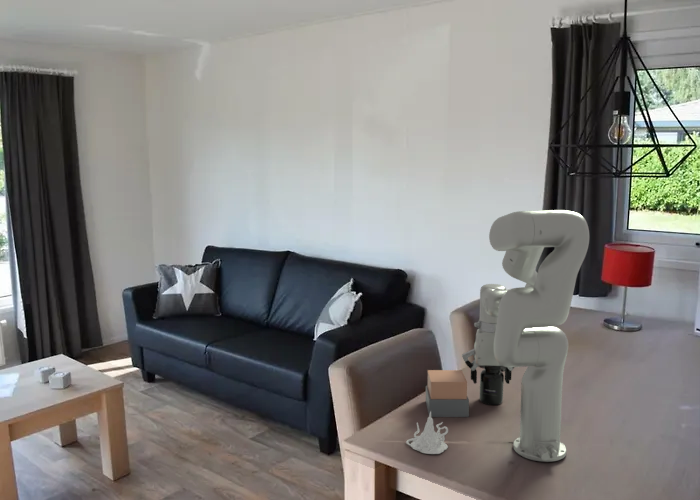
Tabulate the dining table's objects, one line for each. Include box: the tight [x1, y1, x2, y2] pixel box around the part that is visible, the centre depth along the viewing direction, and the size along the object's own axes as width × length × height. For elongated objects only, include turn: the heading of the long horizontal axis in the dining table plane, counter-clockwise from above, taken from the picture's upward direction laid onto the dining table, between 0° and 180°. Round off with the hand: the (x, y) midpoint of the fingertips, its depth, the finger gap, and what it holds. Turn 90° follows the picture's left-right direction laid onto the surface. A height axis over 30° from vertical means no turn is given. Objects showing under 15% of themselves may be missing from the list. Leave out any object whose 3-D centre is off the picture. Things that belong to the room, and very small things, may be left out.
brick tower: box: [425, 369, 470, 418], centre depth 172 cm, size 11×11×10 cm
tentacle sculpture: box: [405, 411, 449, 455], centre depth 149 cm, size 9×12×9 cm
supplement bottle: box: [479, 366, 505, 406], centre depth 177 cm, size 7×7×12 cm
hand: (490, 382), depth 178 cm, fingers open, 9 cm apart
